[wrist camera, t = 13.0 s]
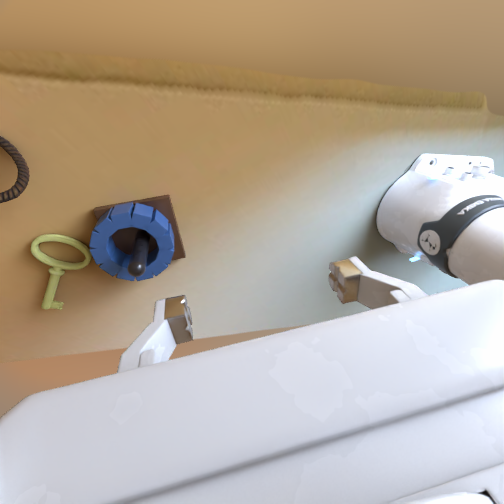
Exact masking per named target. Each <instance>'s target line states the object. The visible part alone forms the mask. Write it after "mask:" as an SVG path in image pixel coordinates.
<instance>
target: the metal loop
mask: <svg viewBox="0 0 504 504" xmlns="http://www.w3.org/2000/svg"><path fill="white" fill-rule="evenodd" d="M0 147H2V148H3V149H4V150H5V151H6V152H7V153H8V154H9V155H10V156H11V157H12V158H13V160H14V161H15V164H16V165H17V168H18V178H17V181H16V183H15V185H14V186H12V188H11V189H9V190H7V191H5V192H2V193H0V203H3V202H7V201H9V200H12V199H14V198H17V197H18V196H19V195H20V194H21V193H22V192H23V191H24V190H25V189H26V186H27V184H28V181H29V168H28V166H27V163H26V162H25V159H24V158H23V157H22V155H21V154H20V153H19V151H18V150H17V149H16V148H15V147H14V146H13V145H12V144H11V143H10V142H9V141H7V140H5V139H4V138H3V137H1V136H0Z"/></svg>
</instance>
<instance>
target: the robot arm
mask: <svg viewBox="0 0 504 504" xmlns="http://www.w3.org/2000/svg"><path fill="white" fill-rule="evenodd" d="M429 162H430V163H429ZM377 227H378V230H379V233H380V234H381V236H382V237H383V238H384V239H386V240H388V241H390V242H392V243H394V244H395V246H396V248H397V249H398V251H400V252H402V253H410V254H412V255H414V256H415V257H413V258H410V261H411V262H414V261H416V260H419V259H421V260H423V261H424V262H426V263H428V264H430V265H433V266H436V267H438V268H439V270H441V271H442V272H444V273H446V274H448V275H450V276H452V277H454V278H459V279H461V280H462V281H464V282H465V283H467V284H468V285H469V286H465V287H461V288H457V289H453V290H449V291H445V292H441V293H437V294H433V295H429V296H428V295H427V294H425V293H424V292H423V291H422V290H421V289H420V288H419V287H417V286H416V285H414V284H411V283H408V282H405V281H402V280H399V279H396V278H393V277H390V276H387V275H384V274H381V273H378V272H375V271H373V272H372V271H371V270H370V269H369V268H367V267H366V266H365V265H364V264H363V263H362V262H361V261H360V260H359V259H358V258H357V257H351V258H347V259H344V260H340V261H336V262H331V263H330V265H329V269H330V271H331V273H330V274H329V283H330V286H331V288H332V290H333V291H335V292H337V296H338V298H339V299H340V300H341V302H342V303H343V304H344V303H349V302H353V301H358V302H359V303H361V304H363V305H365V306H367V307H369V308H370V309H372V310H368V311H364V312H360V313H356V314H352V315H348V316H344V317H340V318H336V319H332V320H328V321H324V322H320V323H316V324H312V325H308V326H304V327H300V328H296V329H292V330H288V331H284V332H280V333H277V334H272V335H268V336H264V337H260V338H256V339H252V340H248V341H244V342H240V343H236V344H232V345H228V346H224V347H220V348H216V349H212V350H208V351H204V352H200V353H196V354H192V355H188V356H184V357H180V358H176V359H172V360H168V359H169V358H170V356H171V354H172V352H173V351H174V349H175V347H176V345H177V344H180V343H184V342H187V341H191V340H193V332H192V327H191V325H192V317H191V312H190V308H189V307H188V306H187V299H186V296H185V295H182V296H177V297H172V298H167V299H162V300H157V301H156V302H155V309H154V318H153V322H152V323H150V324H149V325H148V326H147V327H146V328H145V329H144V330H143V332H142V333H141V334H140V335H139V336H138V337H137V338H136V339H135V341H134V342H133V343H132V344H131V345H130V346H129V347H128V348H127V350H126V351H125V352H124V353H123V354H122V355H121V357H120V362H119V366H118V370H117V373H115V374H111V375H107V376H104V377H99V378H96V379H91V380H87V381H83V382H79V383H75V384H71V385H67V386H63V387H59V388H55V389H51V390H46V391H42V392H38V393H35V394H32V395H29V396H27V397H25V398H24V399H22V400H21V401H20V402H19V403H17V404H16V405H15V406H14V407H12V408H11V409H10V410H9V411H8V412H6V413H5V414H4V415H3V416H2V417H1V418H0V504H504V178H502V177H499V176H496V175H494V163H493V160H492V159H491V158H488V157H478V156H460V155H442V154H422V155H421V156H419V157H418V158H417V160H416V161H415V162H414V164H413V165H412V166H411V168H410V169H409V171H408V172H407V173H405V174H404V175H403V176H402V177H401V178H399V179H398V180H397V181H396V182H395V183H394V184H393V185H392V186H391V187H390V189H389V190H388V191H387V193H386V194H385V196H384V197H383V199H382V201H381V203H380V206H379V209H378V213H377Z"/></svg>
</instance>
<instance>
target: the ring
mask: <svg viewBox="0 0 504 504" xmlns="http://www.w3.org/2000/svg"><path fill="white" fill-rule="evenodd" d="M168 221H169V220H168V219H167V218H166V217H165V216H163V215H162V214H161V213H160V212H159V211H158V210H157V209H156V210H155V211H154V212H153V207H150V206H146V205H143V204H140V203H136V205H135V208H134V205H133V202H131V203H126V204H120V205H115V207H114V208H113V207H111V208H110V209H109V210H108V211H107V212H106V213H104V214H103V215H102V216H101V217H100V219H99V220H98V222H97V224H96V226H95V227H94V229H93V231H92V234H91V240H90V245H89V247H91V248H90V252H91V254H92V256H93V258H94V260H95V262H96V264H100V266H99V267H100V268H101V269H103V270H104V271H106V272H107V273H108V274H110V275H111V276H115V275H116V274H117V273H118V274H117V278H119V279H125V280H130V281H134V279H135V277H134V276H132V275H130V274H129V272H128V269H127V268H128V264H129V260H130V256H131V255H128V254H125V253H124V252H122V251H121V250H120V249H118V248H117V247H116V246H115V244H114V241H113V239H112V237H111V236H112V234H114V233H115V232H116V231H117V230H118V229H123V228H129V227H135V228H139V229H143V230H146V231H147V232H148V233H149V234H151V235H152V236H153V237H154V238H155V239H156V241H157V244H158V246H157V248H156V249H155V250H153V251H152V252H151V253H150V254H148V256H147V263H146V269H145V272H144V274H143V275H141V276H139V277H136V280H137V281H140V280H145V279H149V278H153V276H154V275H155V276H157V275H158V274H160V273H161V272H162V271H163V270H165V269H166V268H167V267H168V264H170V262H171V259H172V256H173V253H174V234H173V231H172V227H171V224H170V223H168Z"/></svg>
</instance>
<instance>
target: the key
mask: <svg viewBox="0 0 504 504" xmlns="http://www.w3.org/2000/svg"><path fill="white" fill-rule="evenodd" d="M45 241H57V242H63V243H66V244H70V245H72V246H74V247H76V248H77V249H79V250H80V251H81V252H82V253H83V254H84V255H85V257H86V259H85V260H84V261H83V262H78V263H70V262H64V261H60V260H56V259H54V258H51V257H49V256H47V255H45V254H44V253H42V252H41V251H40V249H39V243H41V242H45ZM31 252H32V254H33V256H34V257H35V258H37V259H38V260H39V261H41V262H43V263H45V264H47V265H50V266H53V267H51V268H50V269H49V273H50V274H51V275H50V279H49V282H48V286H47V289H46V292H45V296H44V299H43V302H42V306H41V307H42V308H43V309H50V308H54V309H59V310H62V307H61V306H63V304H64V303H63V302H59V301H54V300H53V299H54V295H55V292H56V289H57V286H58V282H59V279H60V276H61V275H63V274H64V273H65V271H64V269H67V270H77V269H82V268H84V267H85V266H87V265H88V264H89V263H90V261H91V258H92V254H91V252H90V249H89V248H88V247H87V246H86V245H84V244H83V243H81V242H80V241H78V240H75V239H73V238H70V237H67V236H63V235H58V234H47V235H41V236H39V237H37V238H35V239H34V240H33V242H32V245H31Z"/></svg>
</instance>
